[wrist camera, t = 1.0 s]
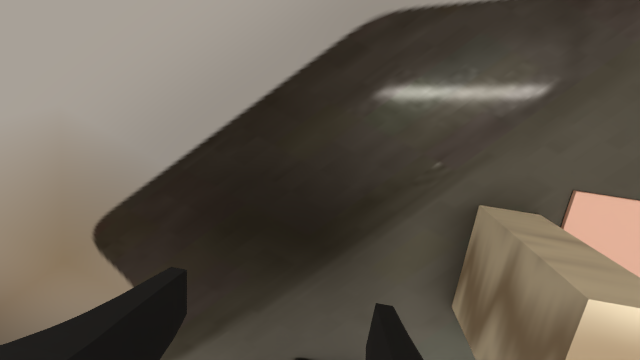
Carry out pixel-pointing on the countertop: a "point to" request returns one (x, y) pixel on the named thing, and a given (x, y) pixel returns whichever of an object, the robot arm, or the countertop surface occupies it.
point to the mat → (606, 226)
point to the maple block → (543, 294)
